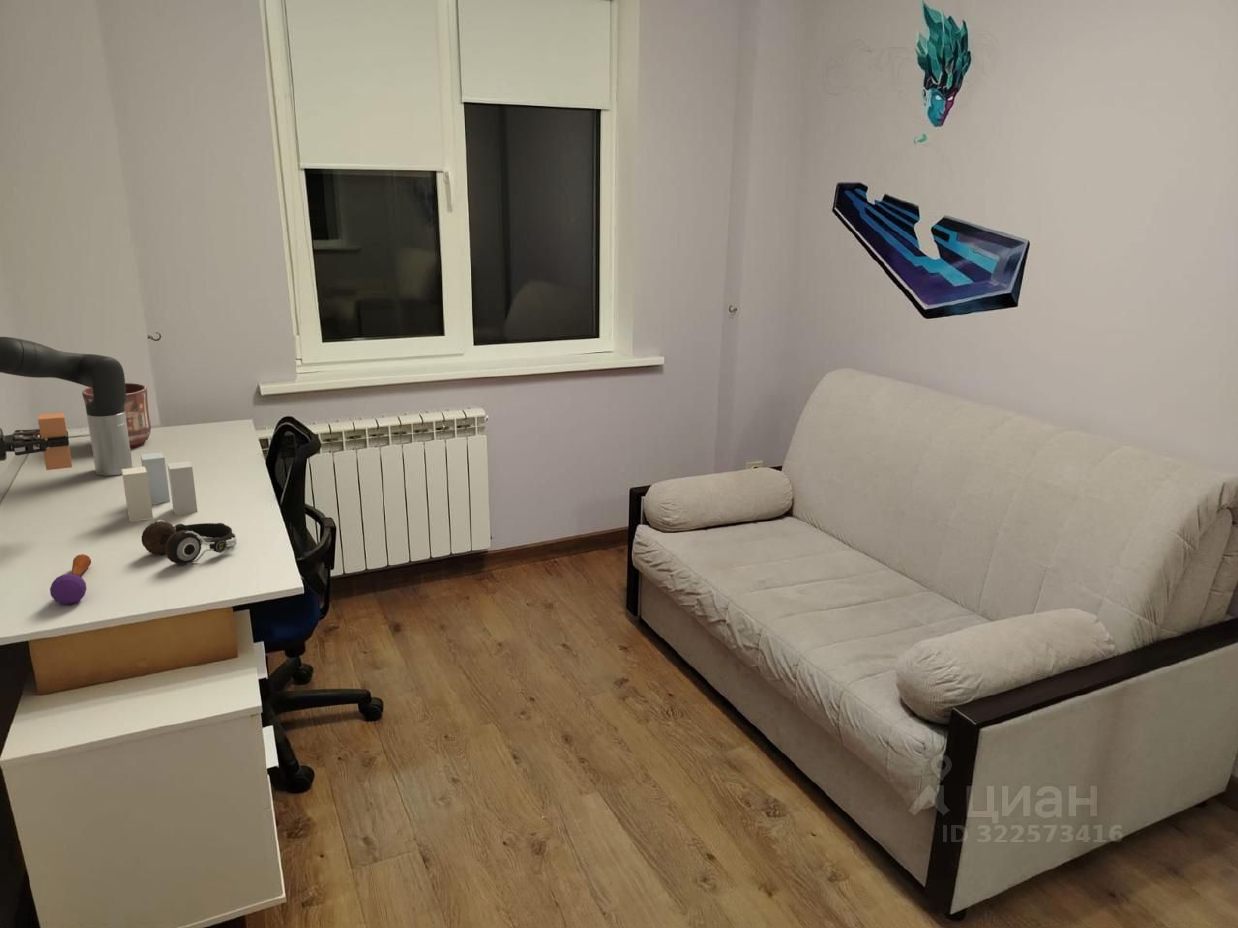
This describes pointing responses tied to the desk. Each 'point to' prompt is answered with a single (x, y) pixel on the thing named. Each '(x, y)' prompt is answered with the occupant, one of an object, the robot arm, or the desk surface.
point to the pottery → (132, 412)
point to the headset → (186, 540)
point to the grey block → (182, 487)
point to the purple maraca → (71, 582)
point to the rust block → (54, 428)
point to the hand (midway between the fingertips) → (67, 437)
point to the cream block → (137, 493)
